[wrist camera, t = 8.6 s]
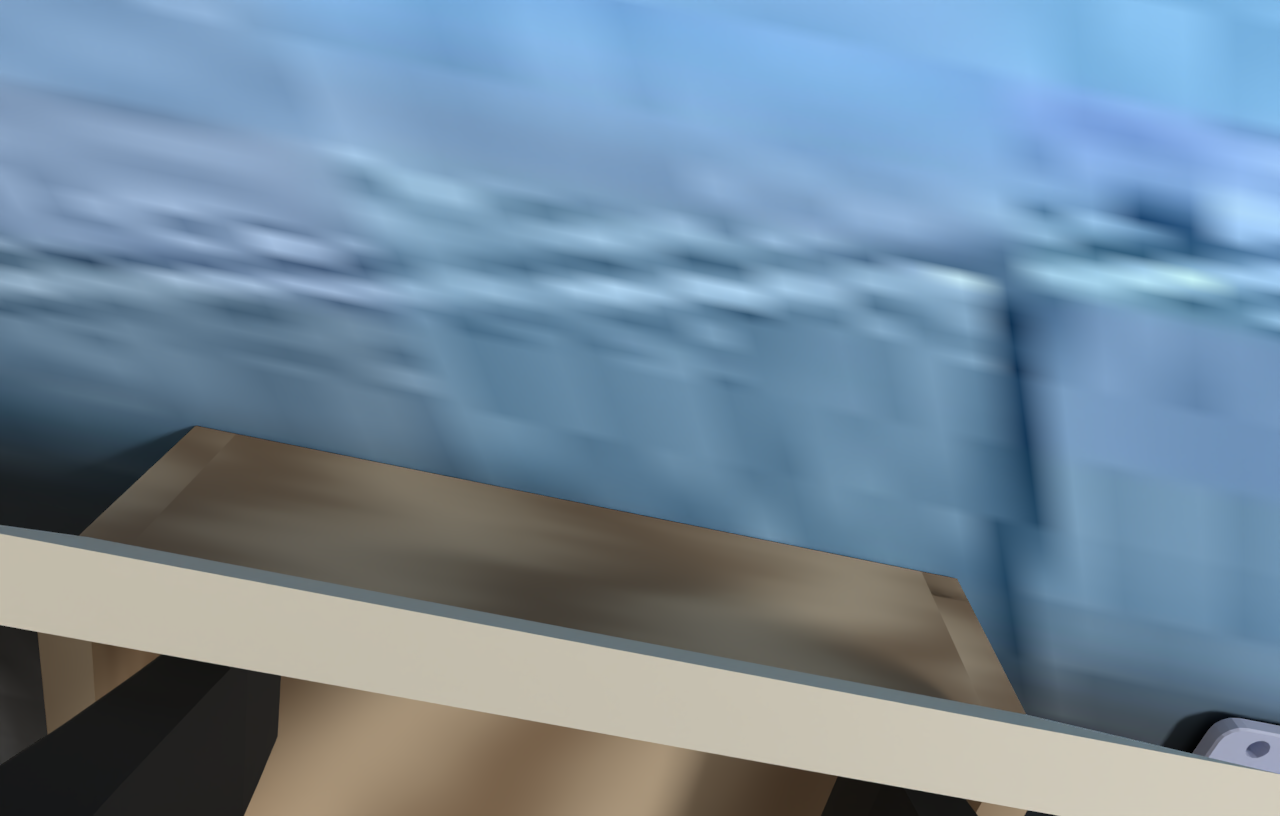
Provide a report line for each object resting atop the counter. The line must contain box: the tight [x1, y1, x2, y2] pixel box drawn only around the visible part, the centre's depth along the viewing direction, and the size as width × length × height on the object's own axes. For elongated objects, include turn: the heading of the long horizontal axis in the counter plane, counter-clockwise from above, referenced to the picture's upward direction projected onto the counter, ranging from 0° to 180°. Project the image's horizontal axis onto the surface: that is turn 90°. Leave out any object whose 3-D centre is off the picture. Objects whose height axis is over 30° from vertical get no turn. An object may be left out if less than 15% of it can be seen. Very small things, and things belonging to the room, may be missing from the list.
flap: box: [0, 525, 1280, 816], centre depth 11 cm, size 15×5×1 cm
